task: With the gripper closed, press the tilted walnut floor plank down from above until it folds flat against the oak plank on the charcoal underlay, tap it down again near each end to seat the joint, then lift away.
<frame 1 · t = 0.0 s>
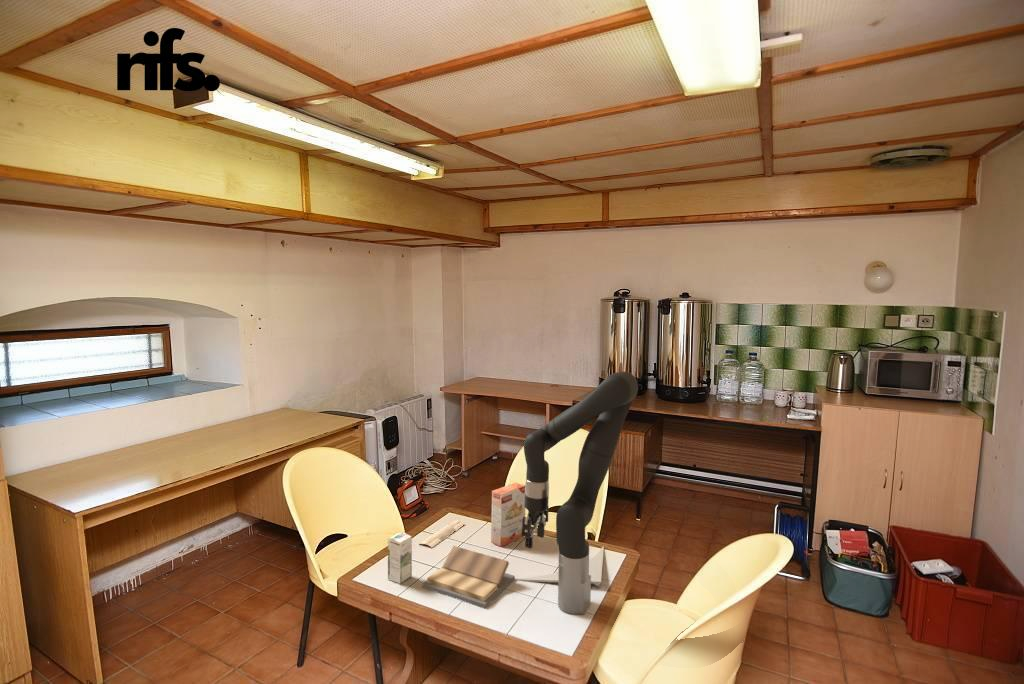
hand: (534, 542, 163), 17 cm above the table, tool pointing down, fingers open, 8 cm apart
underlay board: (469, 583, 171), on the table
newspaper: (444, 536, 206), on the table
oak plank: (461, 583, 167), on the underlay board, point 1 cm above the table
syrup box: (400, 578, 174), on the table
cracker box: (508, 539, 202), on the table
walnut plank: (475, 565, 174), point 4 cm above the table, hinge at -35.0°
corner molding: (560, 564, 185), on the table
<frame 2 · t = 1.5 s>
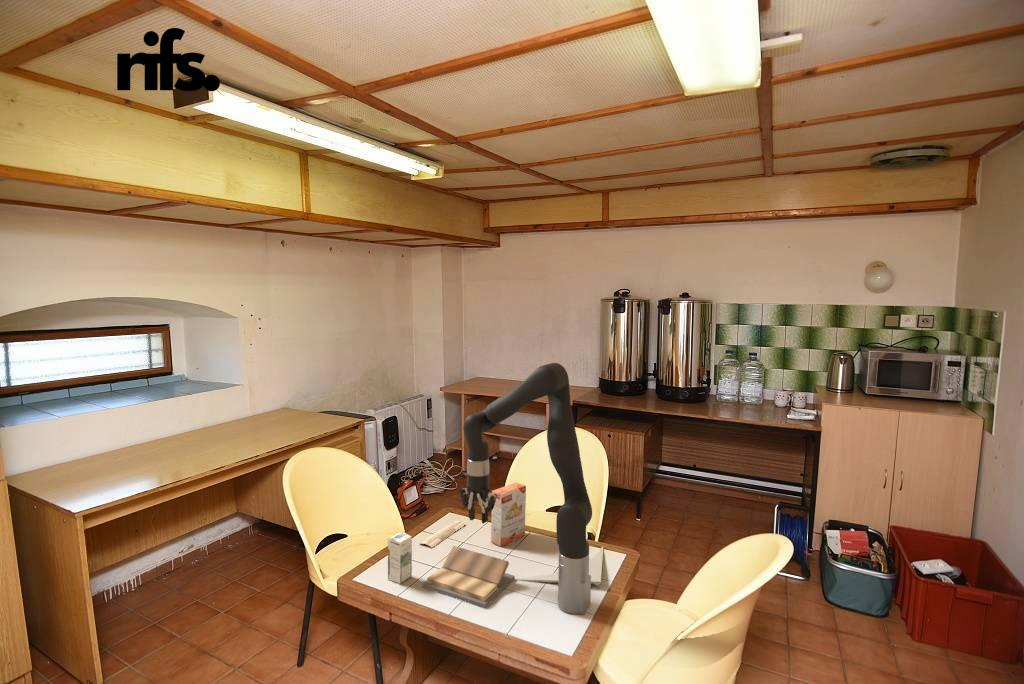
hand: (478, 520, 174), 19 cm above the table, tool pointing down, fingers open, 4 cm apart
nothing on the table moved.
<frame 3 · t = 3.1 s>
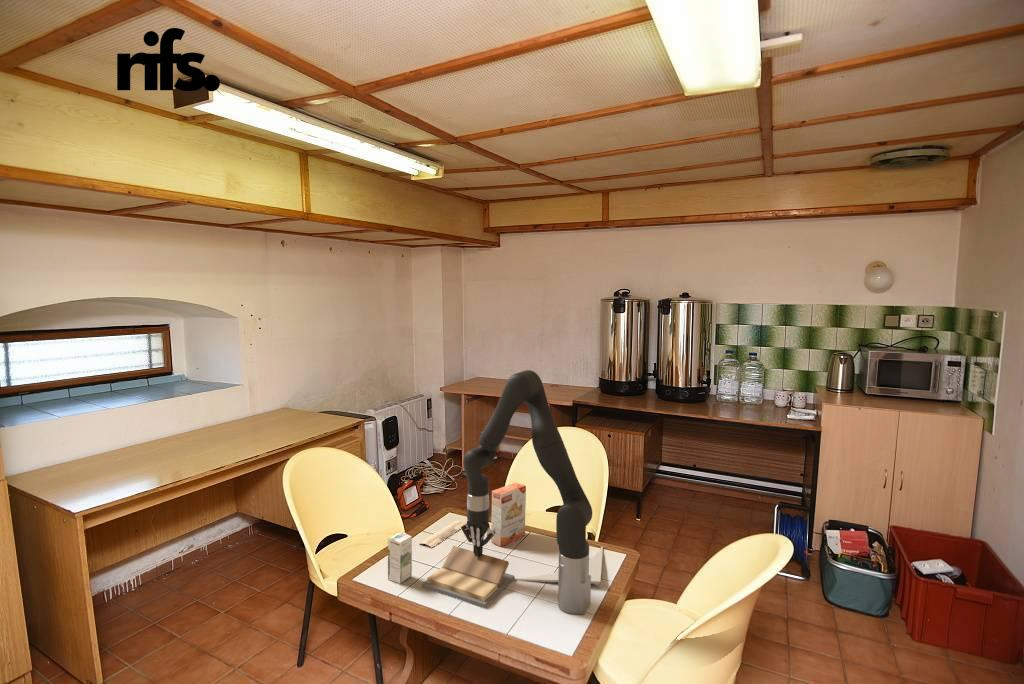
hand: (477, 555, 175), 7 cm above the table, tool pointing down, fingers closed
walnut plank: (475, 565, 174), point 4 cm above the table, hinge at -35.0°, touching gripper
everything else where it was.
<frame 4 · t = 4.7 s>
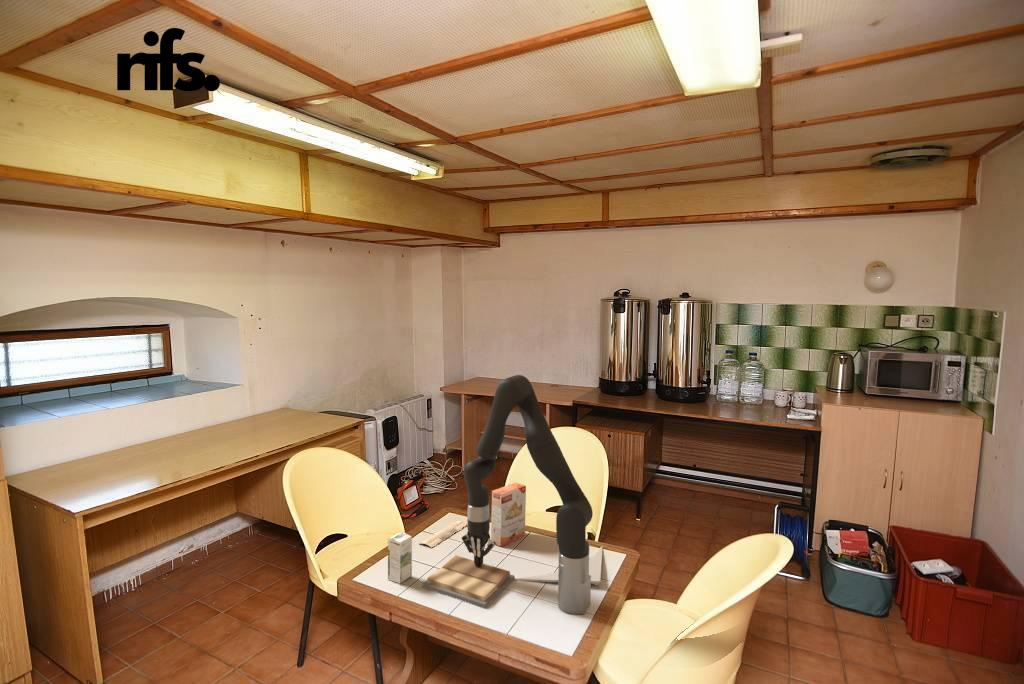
hand: (478, 565, 176), 3 cm above the table, tool pointing down, fingers closed
walnut plank: (475, 570, 174), point 2 cm above the table, hinge at -3.0°
everything else where it was.
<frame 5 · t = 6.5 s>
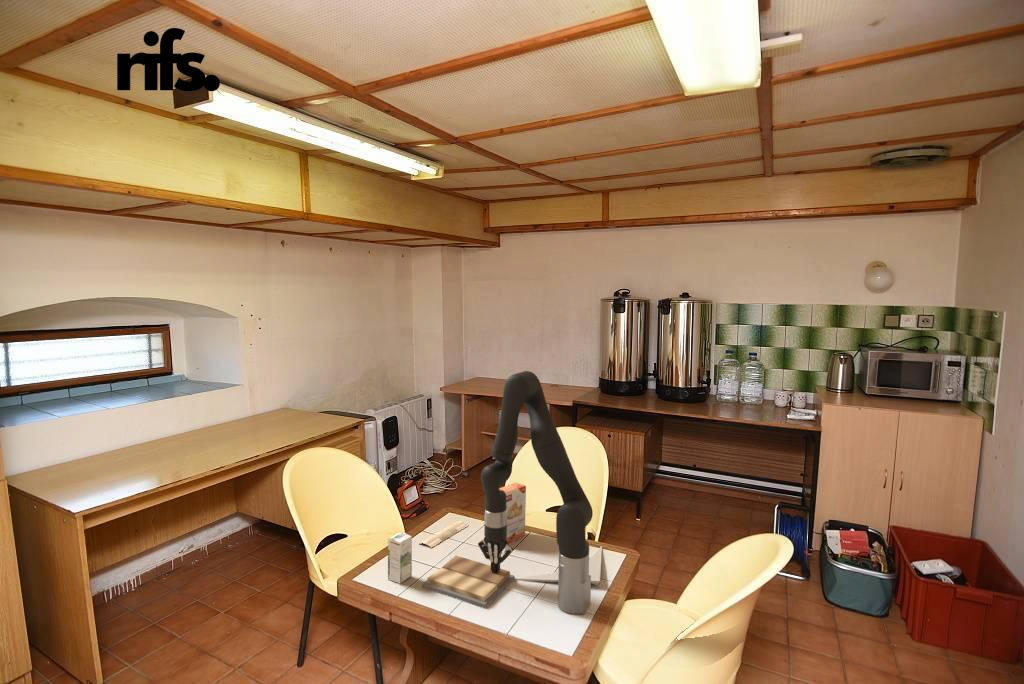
hand: (495, 572, 172), 3 cm above the table, tool pointing down, fingers closed
walnut plank: (475, 571, 174), point 2 cm above the table, hinge at -2.8°, touching gripper
everything else where it was.
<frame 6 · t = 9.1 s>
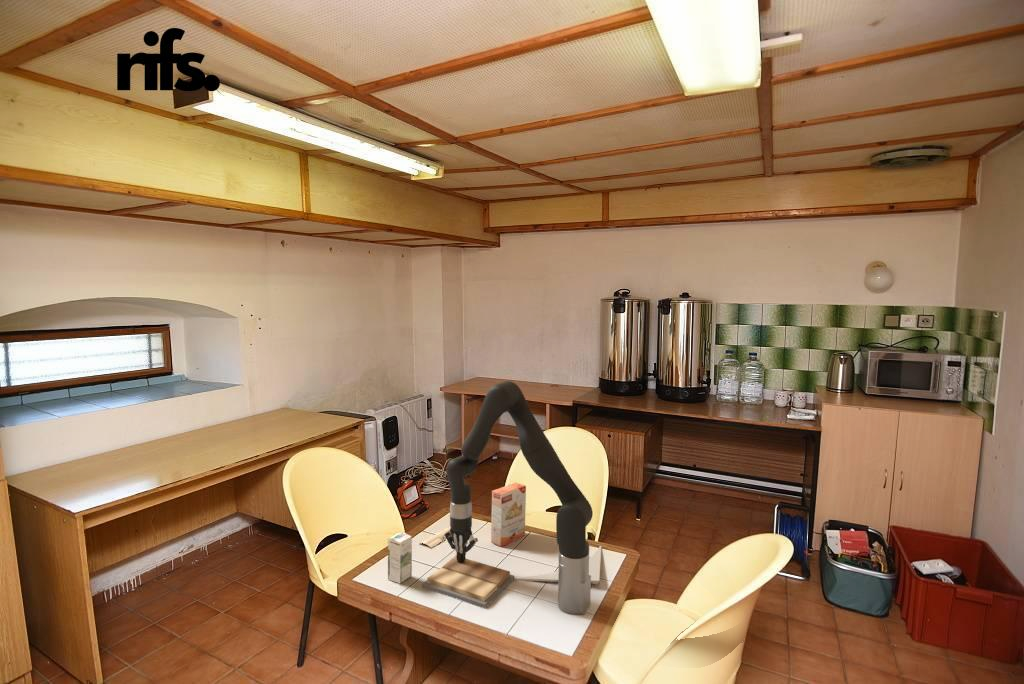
hand: (460, 561, 179), 3 cm above the table, tool pointing down, fingers closed
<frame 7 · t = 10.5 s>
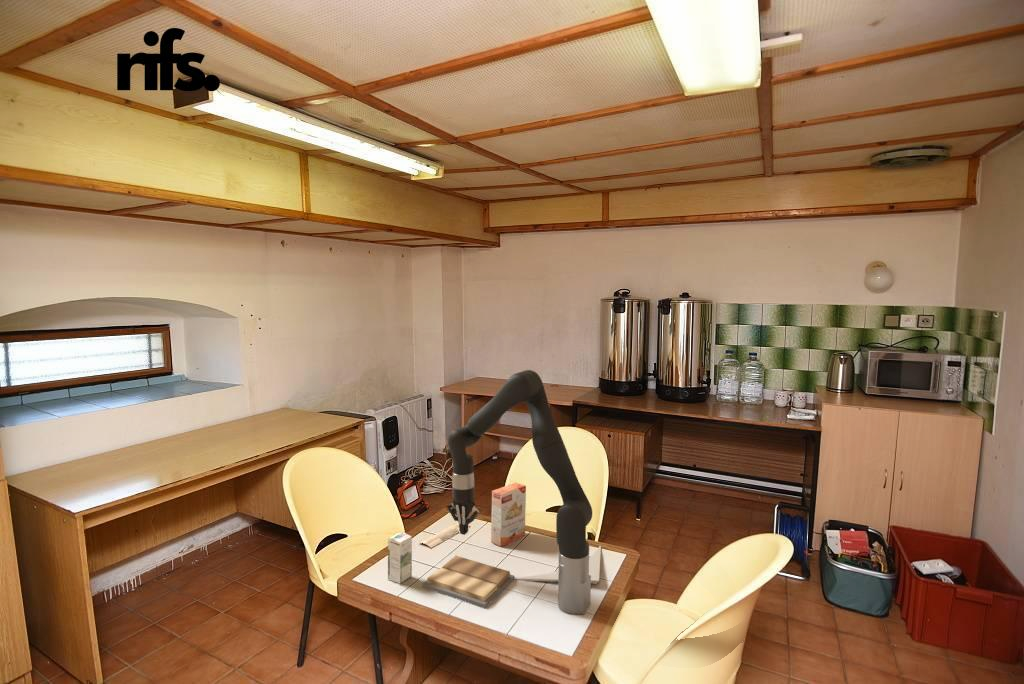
hand: (463, 533, 178), 13 cm above the table, tool pointing down, fingers closed
walnut plank: (475, 571, 174), point 2 cm above the table, hinge at -2.5°
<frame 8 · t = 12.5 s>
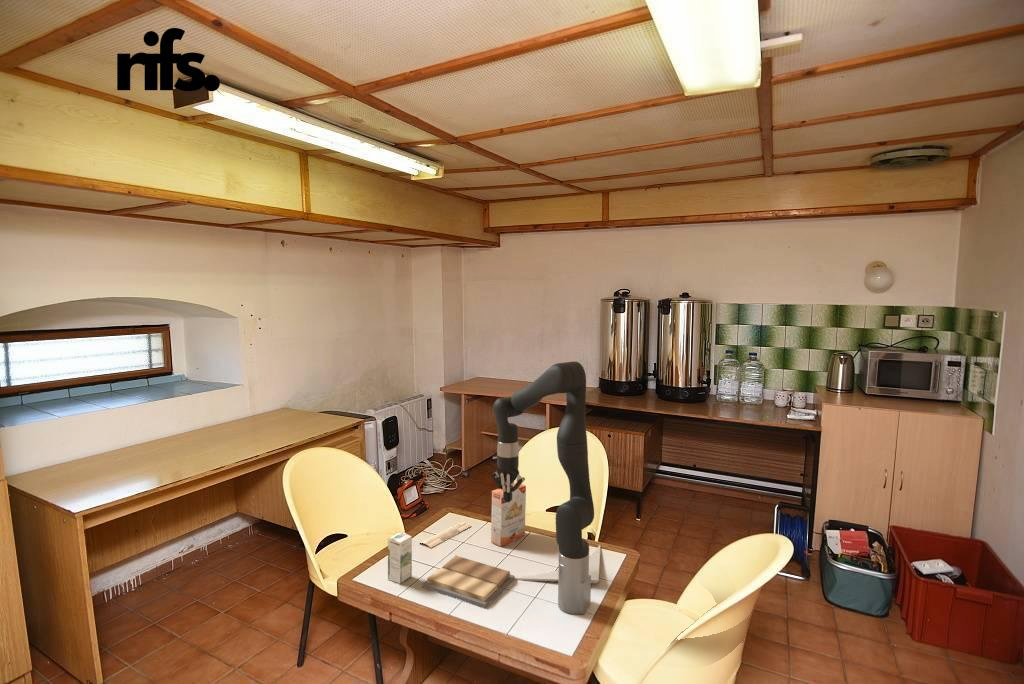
hand: (507, 501, 181), 23 cm above the table, tool pointing down, fingers closed
at the end: walnut plank at -2° (first picture: -35°); the gripper is holding nothing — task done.
